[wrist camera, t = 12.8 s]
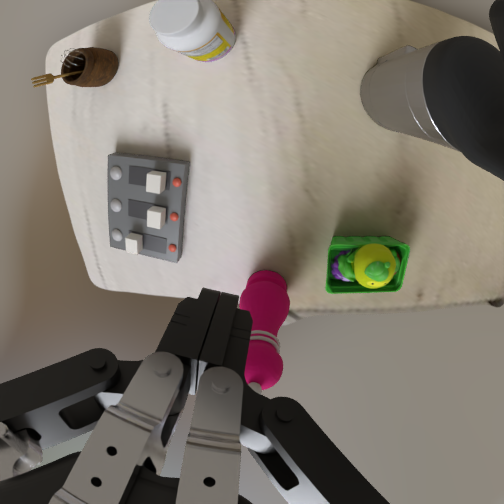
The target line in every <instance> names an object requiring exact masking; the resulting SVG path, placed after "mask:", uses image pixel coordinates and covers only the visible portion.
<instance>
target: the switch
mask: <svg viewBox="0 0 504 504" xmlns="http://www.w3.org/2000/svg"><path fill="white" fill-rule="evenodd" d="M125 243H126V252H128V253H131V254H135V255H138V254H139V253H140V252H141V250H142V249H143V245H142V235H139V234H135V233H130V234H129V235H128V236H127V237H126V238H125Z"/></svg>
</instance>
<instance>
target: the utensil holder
mask: <svg viewBox="0 0 504 504" xmlns="http://www.w3.org/2000/svg"><path fill="white" fill-rule="evenodd" d="M70 49H72V48H70ZM73 49H74V48H73ZM65 51H68V50H65ZM65 51H64V52H65ZM65 54H66V53H65ZM65 54H64V56H62V55H61V56H62V58H63V57H65V56H67V57H65V60H64V59H63V62H62V63H63V64H62V69H61V75H57V76H53V75H52V74H46V75H42V76H38V77H34V78H32V79H31V80H36V79H40V78H44V77H45V79H41V80H37V81H34V82H32V83H33V84H35V83H39V82H42V81H47V82H44V83H40V84H37V85H34V87H38V86H41V85H46V84H50V83H53V81H54V79H56V78H60V77H62V79H63V80H64V82H65V83H67V84H70V85H76V86H79V87H99V86H103V85H105V84H107V83H108V82H110V81H111V80H112V79H113V77H114V76H115V74H116V72H117V69H118V59H117V56H116V55H115V54H114V53H113V52H112V51H109V50H106V49H101V48H94V47H90V48H79V49H75V50H73V51H70V52H69V54H68V53H67V54H68V55H65Z"/></svg>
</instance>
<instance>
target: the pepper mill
mask: <svg viewBox="0 0 504 504" xmlns="http://www.w3.org/2000/svg"><path fill="white" fill-rule="evenodd" d="M289 306H290V300H289V297H288V294H287V285H286V282H285V280H284V279H283V277H282V276H281V275H279V274H278V273H276V272H273V271H268V270H264V271H259V272H256V273H254V274H253V275H252V276H251V277H250V278H249V279H248V282H247V286H246V289H245V290H244V291H243V293H242V295H241V297H240V304H239V307H240V309H242V310H247V311H250V314H251V317H252V320H253V324H252V330H251V336H250V342H249V348H248V354H247V360H246V366H245V379H246V382H247V384H248V385H249V386H250V387H251V388H252V389H253V390H254V391H255V392H257V393H259V394H261V392H262V390H264V389H268V388H270V387H272V386H273V385H275V384H276V383H277V382H278V381H279V379H280V377H281V375H282V371H283V361H282V358H281V356H280V355H279V352H280V342H279V340H278V339H277V333H278V330H279V328H280V326H281V325H282V324H283V322H284V321H285V319H286V317H287V315H288V312H289Z"/></svg>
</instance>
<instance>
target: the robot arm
mask: <svg viewBox="0 0 504 504" xmlns="http://www.w3.org/2000/svg"><path fill="white" fill-rule="evenodd" d="M489 17H490V22H491V26H492V29H493V32H494V35H495V39H496V41H497V44H498V47H499V49H500V51H499V50H498V49H497V48H495V47H494V46H493V45H491V44H489V43H488V42H486V41H484V40H482V39H479V38H475V37H471V36H459V37H454V38H450V39H447V40H444V41H441V42H438V43H435V44H432V45H429V46H426V47H423V48H420V49H416V48H414V47H412V46H409V45H407V46H404V47H402V48H400V49H398V50H396V51H393V52H391V53H389V54H387V55H385V56H383V57H381V58H379V59H378V62H377V64H376V66H374V67H373V68H371V69H370V70H369V71H368V72H367V73H366V74H365V76H364V78H363V80H362V83H361V89H360V95H361V100H362V104H363V106H364V109H365V110H366V112H367V113H368V115H369V116H370V117H371V118H372V120H373V121H374V122H376V123H377V124H378V125H380V126H382V127H384V128H386V129H389V130H392V131H396V132H400V133H403V134H407V135H411V136H414V137H417V138H421V139H424V140H427V141H431V142H434V143H437V144H440V145H443V146H446V147H448V148H451V149H454V150H457V151H460V152H462V153H463V155H464V156H465V157H466V158H467V159H468V160H470V161H471V162H472V163H474V164H475V165H477V166H479V167H481V168H482V169H484V170H486V171H488V172H490V173H492V174H493V175H495V176H497V177H498V178H500V179H502V180H503V181H504V0H496V1H494V3H493V4H492V6H491V8H490V11H489ZM220 294H221V295H220ZM238 300H239V296H238V295H233V294H229V293H225V292H222V293H221V292H220V291H215V290H211V289H207V288H202V290H201V293H200V295H199V297H198V299H195V298H191V297H187V298H185V299H184V300H183V301H181V302H180V303H179V304H178V306H177V308H176V310H175V312H174V315H173V316H172V318H171V321H170V322H169V324H168V327H167V329H166V331H165V333H164V335H163V337H162V339H161V341H160V343H159V345H158V348H157V350H156V351H155V352H154V353H152V354H150V355H148V356H147V357H146V358H145V359H144V360H141V361H120V360H117V358H116V356H115V355H114V354H113V353H112V352H110V351H109V350H106V349H102V348H95V349H91V350H89V351H86V352H84V353H81V354H79V355H76V356H74V357H71V358H69V359H66V360H63V361H61V362H58V363H56V364H53V365H50V366H48V367H45V368H42V369H40V370H37V371H35V372H32V373H29V374H26V375H24V376H21V377H18V378H16V379H13V380H10V381H7V382H4V383H2V384H0V504H252V503H251V502H250V501H249V500H247V499H246V498H244V497H243V496H241V495H239V494H238V490H239V476H240V462H241V444H242V445H244V446H246V447H247V448H248V450H249V452H250V453H251V455H252V456H253V457H254V459H255V460H256V462H257V463H258V464H259V465H260V467H261V468H262V470H263V471H264V473H265V474H266V475H267V477H268V478H269V479H270V481H271V482H272V483H273V485H274V486H275V487H276V488H277V490H278V491H279V492H280V493H281V495H282V496H283V497H284V498H285V500H286V501H287V502H288V503H289V504H390V503H389V502H388V501H387V500H386V499H385V498H384V497H383V496H381V494H380V493H379V492H378V491H377V490H376V489H375V488H374V487H373V486H372V485H371V484H370V483H369V482H368V481H367V480H366V479H365V478H364V477H363V476H362V474H361V473H360V472H359V471H358V470H357V469H356V468H355V467H354V466H353V465H352V464H351V462H350V461H349V460H348V459H347V458H346V457H345V456H344V455H343V454H342V452H341V451H340V450H339V449H338V448H337V447H336V446H335V445H334V443H333V442H332V441H331V440H330V439H329V438H328V436H327V435H326V434H325V433H324V432H323V431H322V429H321V428H320V427H319V426H318V425H317V424H316V423H315V421H314V420H313V419H312V418H311V417H310V415H309V414H308V413H307V412H306V410H305V409H304V408H303V407H302V406H301V405H300V404H299V403H298V402H297V401H295V400H294V399H291V398H288V397H276V398H273V399H269V398H267V397H265V396H263V395H261V394H259V393H257V392H255V391H254V390H253V389H252V388H251V387H250V386H249V385H248V384H247V382H246V379H245V366H246V360H247V354H248V348H249V342H250V336H251V330H252V324H253V320H252V317H251V314H250V311H247V310H242V309H238V308H237V305H238ZM196 390H197V395H196V400H195V405H194V410H193V416H192V421H191V426H190V431H189V434H188V437H187V441H186V446H185V452H184V458H183V463H182V469H181V474H180V478H169V477H161V476H160V473H161V470H162V468H163V466H164V462H165V458H166V453H167V449H168V447H169V444H170V442H171V439H172V437H173V435H174V432H175V430H176V427H177V425H178V422H179V420H180V418H181V415H182V413H183V410H184V406H185V403H186V400H187V396H188V394H192V395H195V393H196ZM91 430H93V432H92V433H91V435H90V437H89V439H88V441H87V443H86V444H85V446H84V448H83V450H82V451H80V452H76V453H72V454H69V455H67V456H65V457H63V458H60V459H58V460H56V461H53V462H51V463H48V464H46V465H43V466H41V467H38V468H36V469H33V470H31V469H32V468H33V467H35V466H36V465H38V464H40V463H41V462H42V450H44V449H47V448H49V447H52V446H55V445H57V444H60V443H62V442H65V441H67V440H70V439H72V438H75V437H77V436H80V435H82V434H84V433H87V432H89V431H91ZM30 470H31V471H30Z"/></svg>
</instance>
